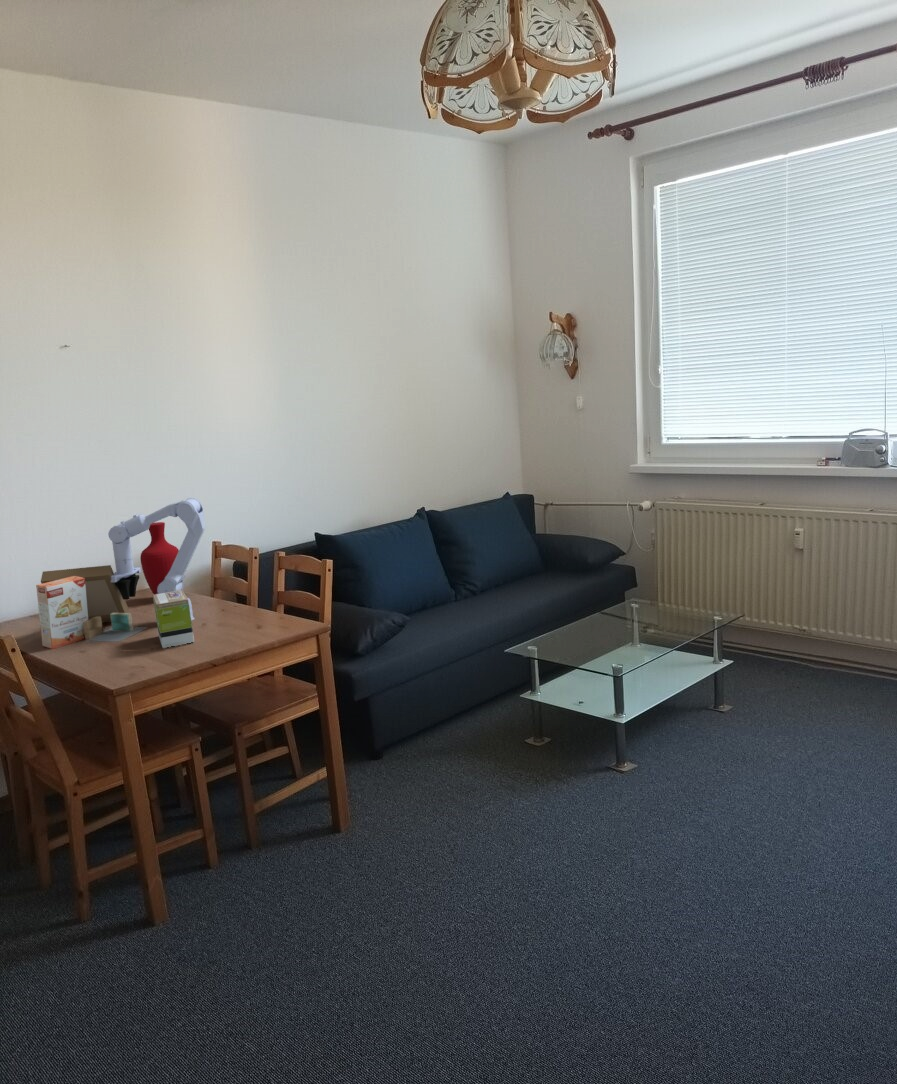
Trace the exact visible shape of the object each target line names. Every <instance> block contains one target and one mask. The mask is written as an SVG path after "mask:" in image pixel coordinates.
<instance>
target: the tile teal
mask: <svg viewBox="0 0 897 1084" xmlns="http://www.w3.org/2000/svg"><path fill="white" fill-rule="evenodd" d="M110 616H111V621H110V622H111V628H112V630H113V631H132V630H133V627H134V625H133V616H132V612H129V613H112V614H110Z"/></svg>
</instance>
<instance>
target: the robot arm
mask: <svg viewBox="0 0 897 1084" xmlns="http://www.w3.org/2000/svg"><path fill="white" fill-rule="evenodd" d="M204 509H205V508H204V507H203V505H202V503H201V501H200V500H198V498H195V497H189V498H187V499H185V500H184V499H183V500H179V501H176V502H172V503H170V504H168V505H165V506H164V507H162V508H159V509H158V510H156V511H153V512H152V513H150V514H147V515H144V514H134V515H133V516H132V518H130V519H128V520H126V521H125V520H122V521H120V523H118V524H117V525H114V526H112V527H110V529H109V530H108V538H109V540H110V541H111V543H112V544H111V545H112V550H113V556H114V557H113V558H114V565H115V570H116V571H115V572H114V575H113V576H111V581H110V582H115V585H116V586H117V588H118V589H119V591H120V593H121V596H122V598H123V599H125V600H129V599H130V598H135V597H136V593H137V592H136V591H137V588H138V587H137V585H138V582H139V580H140V575H138V574H141V573H142V570H141V569H142V566H141V567H140V566H138V567H136V566H134V565H135V564H134V558H133V553H132V546H131V540H130V538H133V537H136V536H138V535H140V534H142V533H144V532H146V531H148V530H149V527H150V524H152V523H156V522H160V521H161V520H164V519H165V518H168V517H173V518H179V519H180V520H181V521H182V522H183V523H184V524H185V527H186V529H187V531H186V535H185V537H184V539H183V541H182V543H181V546H180V547H179V549H178V550H179V552H178V554H177V556H176V558H175V561H174V563H173V565H172V567H171V569H170V571H169V573H168V574H167V576H166V577H165V579H164V581H163V582H162V583H160V584H159V586H158V588H157V592H158V594H161V593H167V592H173V591H179V590H183V588H184V579H185V578H186V577H185V574H186V572H187V569H188V567H189V566H190V563H191V561H192V559H193V556H194V554H195V552H196V550H197V548H198V546H199V543H200V541H201V538H202V537H203V534H204V532H205V530H206V523H205V517H204V512H205V511H204ZM187 598H188V602H189V608H190V615H191V621H193V620H195V617H194V612H193V606H192V601H191V599H190V598H189V597H187Z"/></svg>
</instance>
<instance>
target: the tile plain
mask: <svg viewBox="0 0 897 1084" xmlns="http://www.w3.org/2000/svg"><path fill="white" fill-rule="evenodd" d="M83 626H84V632H85V639H84V640H90V639H92V638H95V637H97V636H99V635H101V634H103V631H104V630H103V622H102V621H101V616H96V617H94V618H91V619H89V620H87V621H84V622H83Z"/></svg>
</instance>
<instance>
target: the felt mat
mask: <svg viewBox="0 0 897 1084" xmlns="http://www.w3.org/2000/svg"><path fill="white" fill-rule="evenodd" d="M148 627H149V626H133V630H132V631H113V630H112V627H109V628H107V629H106V630H103V634H101V635H99V636H97V637H95V638H92V639H90V640H86V639H82V642H113V643H114V642H117V643H118V642H122V641H123V640H126V639H128V638H130V637H131V636H133V635H135V634H138V633H139V632H141V631H144V630H146V629H148Z"/></svg>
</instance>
